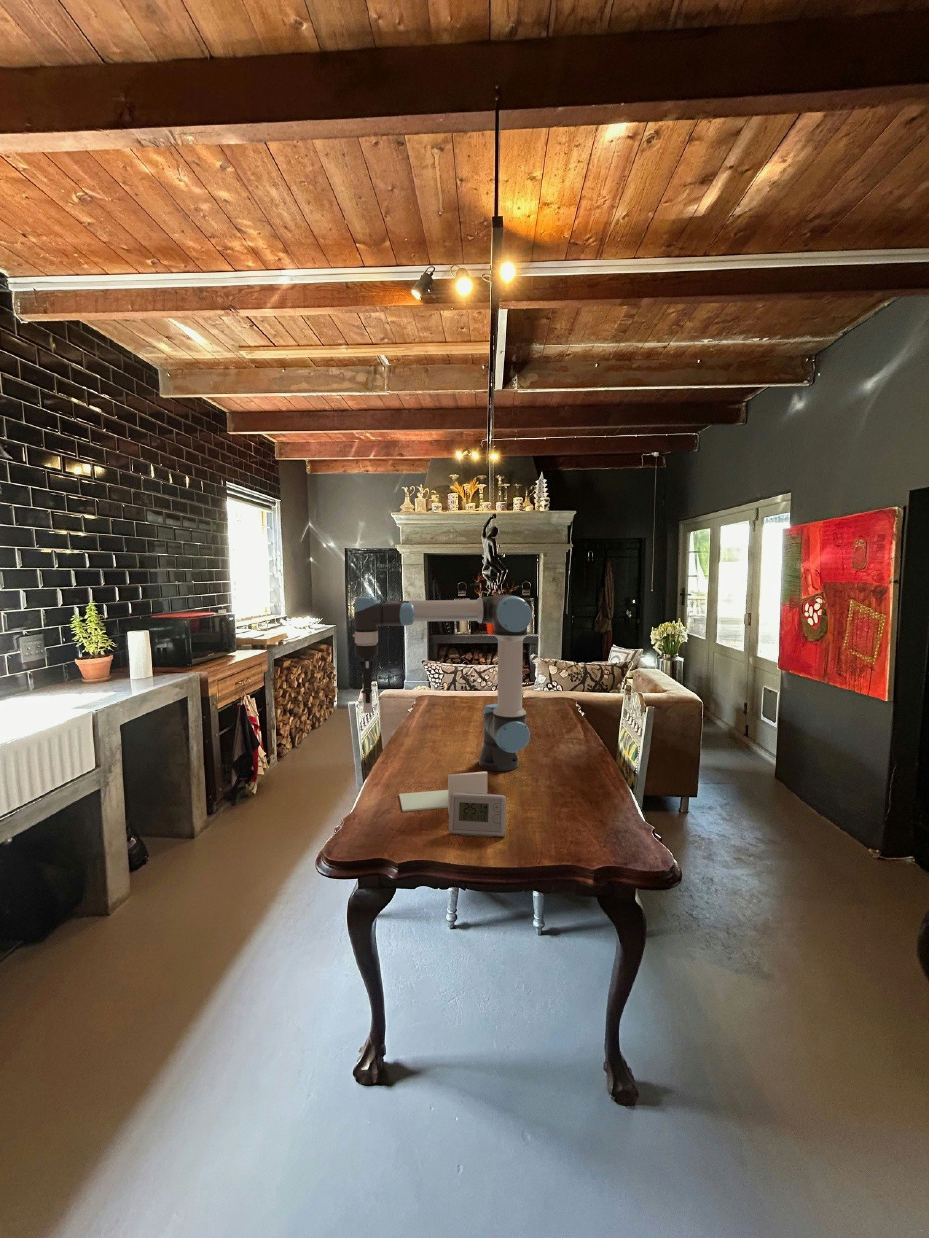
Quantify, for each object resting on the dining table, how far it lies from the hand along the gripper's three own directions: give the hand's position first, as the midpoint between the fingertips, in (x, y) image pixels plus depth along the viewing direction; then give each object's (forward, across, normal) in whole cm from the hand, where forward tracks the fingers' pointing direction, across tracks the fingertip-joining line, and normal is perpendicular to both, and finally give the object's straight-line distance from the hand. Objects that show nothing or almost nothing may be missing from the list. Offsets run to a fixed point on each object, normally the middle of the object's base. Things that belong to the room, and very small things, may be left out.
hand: (367, 707), depth 178 cm
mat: (+28, +14, +19) cm, 37 cm away
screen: (+28, +24, +29) cm, 47 cm away
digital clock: (+28, +37, +29) cm, 55 cm away
